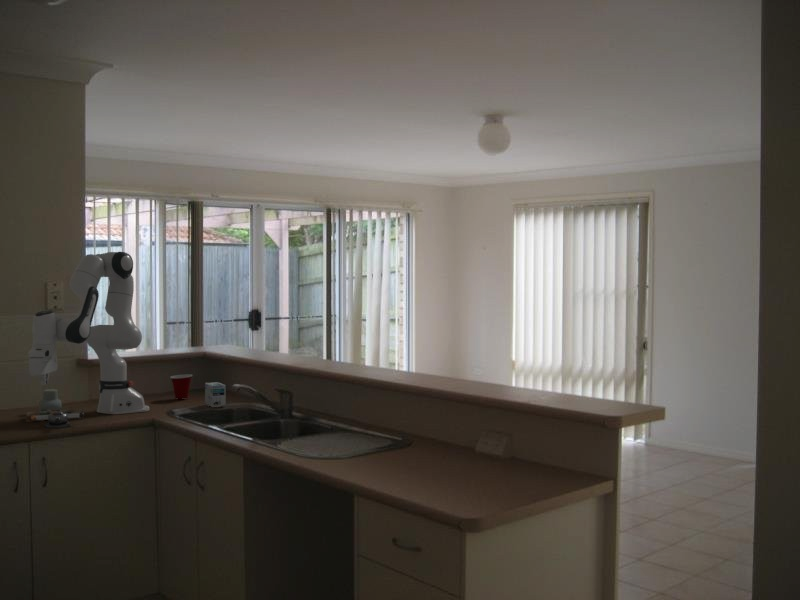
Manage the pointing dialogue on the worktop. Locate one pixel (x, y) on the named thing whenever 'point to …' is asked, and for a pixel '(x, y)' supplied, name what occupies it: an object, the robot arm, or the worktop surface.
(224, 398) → the light bulb box
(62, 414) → the capstan
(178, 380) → the plastic cup
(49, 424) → the pedestal
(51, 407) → the air freshener
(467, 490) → the worktop surface
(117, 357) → the robot arm
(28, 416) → the level stand
